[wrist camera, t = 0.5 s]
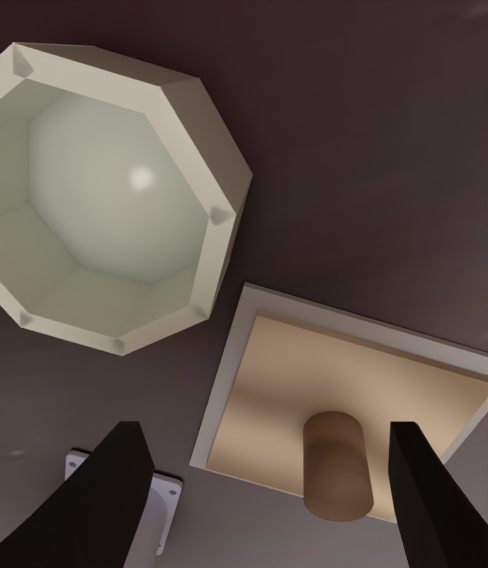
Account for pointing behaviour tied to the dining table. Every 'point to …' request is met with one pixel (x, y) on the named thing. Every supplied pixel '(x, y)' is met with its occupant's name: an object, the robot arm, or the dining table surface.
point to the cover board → (337, 384)
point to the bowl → (112, 196)
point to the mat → (333, 320)
